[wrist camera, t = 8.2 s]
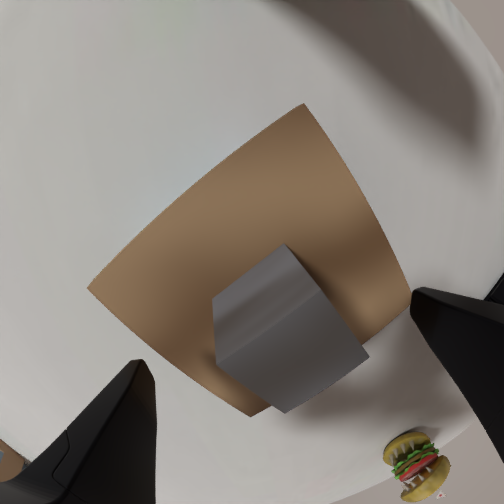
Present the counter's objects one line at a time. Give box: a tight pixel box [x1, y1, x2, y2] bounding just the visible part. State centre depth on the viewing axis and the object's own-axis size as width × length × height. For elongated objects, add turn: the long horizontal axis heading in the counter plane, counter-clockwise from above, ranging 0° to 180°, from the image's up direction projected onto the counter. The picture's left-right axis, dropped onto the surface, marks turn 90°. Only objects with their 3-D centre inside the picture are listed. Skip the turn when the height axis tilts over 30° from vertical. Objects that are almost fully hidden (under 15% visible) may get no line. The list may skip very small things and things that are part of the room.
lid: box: [87, 103, 412, 417], centre depth 9 cm, size 10×10×4 cm
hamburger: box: [383, 432, 451, 502], centre depth 22 cm, size 8×7×12 cm
